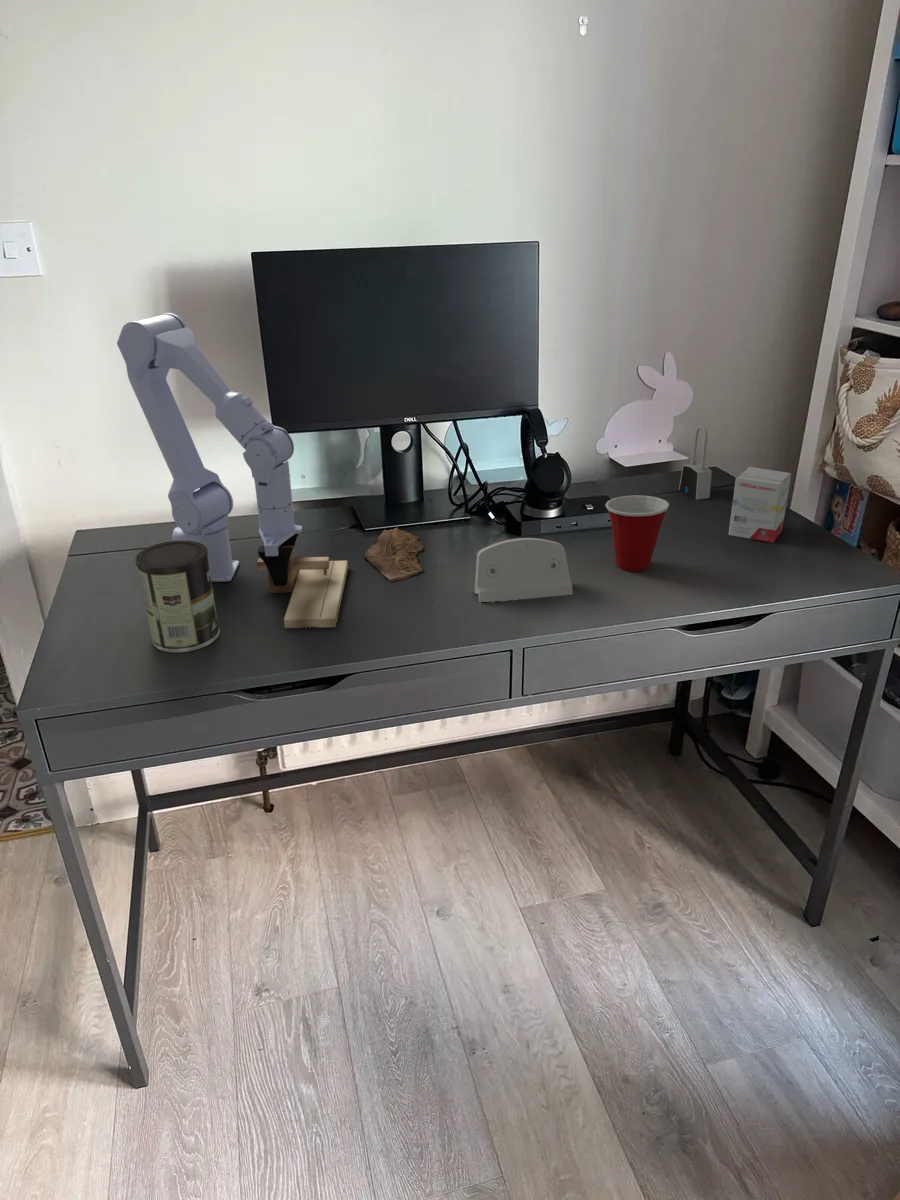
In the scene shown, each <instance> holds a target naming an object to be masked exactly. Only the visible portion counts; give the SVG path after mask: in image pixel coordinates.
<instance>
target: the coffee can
mask: <svg viewBox="0 0 900 1200" xmlns="http://www.w3.org/2000/svg"><path fill="white" fill-rule="evenodd" d="M134 561H135V564H136V566H137V571H138V576H139V580H140V585H141V591H142V594H143V595H142V596H143V600H144V604H145V610H146V615H147V620H148V625H149V630H150V634H151V635H150V636H151V642H152V644H153V647H155V648H156V649H157V650H159V651H161V652H165V653H174V654H175V653H177V654H179V653H180V654H181V653H188V652H193V651H197V650H200V649H203V648H205V647H207V646H209V645H211V644H213V643H214V642H215V641H216V640H217V639H218V638H219V637H220V633H221V630H220V626H219V621H218V615H217V608H216V602H215V597H214V588H213V583H212V582H211V576H210V569H209V562H208V550H207V548H206V546H205V545H203V544H201V543H198V542H194V541H172V540H171V541H164V542H160V543H156V544H154V545H153V544H152V545H151V546H149V547H146V548H144V549H142V550H140V551H139V552H138V553H136V556H135V558H134Z"/></svg>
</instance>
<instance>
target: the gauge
mask: <svg viewBox="0 0 900 1200" xmlns="http://www.w3.org/2000/svg"><path fill="white" fill-rule="evenodd" d="M295 547H296V546H295ZM295 547H294V546H283V548H293V551H292V553H291V555H290V559H289V566H288V581H287V585H286V586H274V584H273V581H272V579H271V576H270V573H269V571H268V568H267V566H266V565H265V563H264V561H263V560H262V559H261V558H260V557H259V558H258V559H257V561H256V566H257V571H262V572H263V571H267V579H268V585H269V593H270V594H273V593H274V594H275V593H280V594H281V593H293V590H294V587H295V584H296V581H297V578H298V571H300V570H318V569H324V575H327V569H329V566H330V565H329V561H330V558H329V557H330V556H310V557H309V556H305V557H300V556H299V557H296V549H295Z"/></svg>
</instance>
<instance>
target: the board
mask: <svg viewBox="0 0 900 1200" xmlns="http://www.w3.org/2000/svg"><path fill="white" fill-rule="evenodd" d="M329 565H330V566H329V569H327V575H324V569H318V570H298V571H299V572H298V573H297V576H298V578H297V581H296V584H295V587H294V590H293V592H291V596H290V599H289V603H288V605H287V608H286V612H285V615H284V617H283V623H284V628H285V629H300V628H301V629H302V628H303V627H305V628H303V629H307V627H309V628H311V627H314V629H315V627H317V628H336V627H337V624H336V623H337V622H338V619H339V613H340V607H341V604H342V600H343V599H342V598H343V594H344V589H345V584H346V579H347V576H348V575H347V574H348V570H349V566H348V560H329ZM309 628H308V629H309Z"/></svg>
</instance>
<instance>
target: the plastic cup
mask: <svg viewBox="0 0 900 1200" xmlns="http://www.w3.org/2000/svg"><path fill="white" fill-rule="evenodd" d="M604 505H605V508H606V509H607V511H608V515H609V519H610V524H611V534H612V543H613V548H614V558H615V563H616V566H617V568H619V569H620V570H623V571H625V572H632V573H635V572H637V573H639V572H643V571H646V570H648V568H649V566H650V564H651V562H652V558H653V553H654V552H655V549H656V545H657V542H658V537H659V534H660V530H661V527H662V523H663V521H664V517H665V515H666V512H667V510H668V509H669V506H670V502H668V501H667V500H665V499H663V498H660V497H656V496H651V495H638V494H637V495H636V494H635V495H625V496H624V495H622V496H618V497H614V498H612V499H610V500H607V502H606V503H605V504H604Z"/></svg>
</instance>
